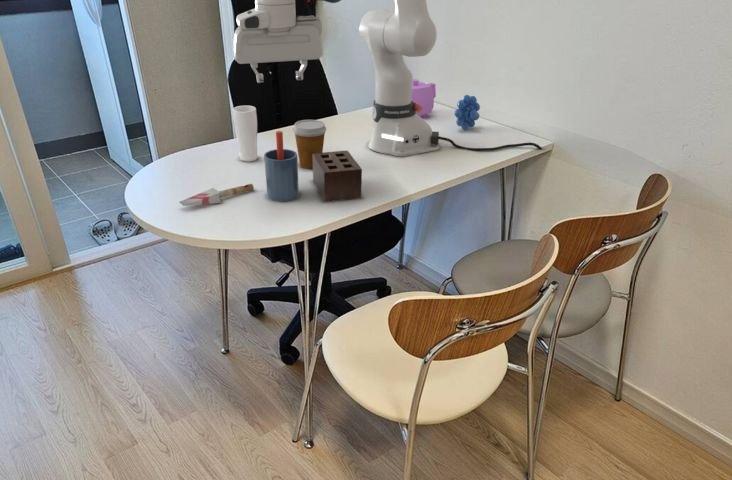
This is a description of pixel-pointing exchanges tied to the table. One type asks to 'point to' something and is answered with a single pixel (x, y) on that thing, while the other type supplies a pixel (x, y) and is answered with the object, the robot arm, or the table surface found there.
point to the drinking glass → (246, 131)
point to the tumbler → (281, 175)
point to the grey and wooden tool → (215, 195)
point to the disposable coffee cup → (309, 140)
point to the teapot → (423, 96)
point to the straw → (279, 145)
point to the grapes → (467, 112)
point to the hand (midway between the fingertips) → (280, 80)
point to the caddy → (337, 175)
